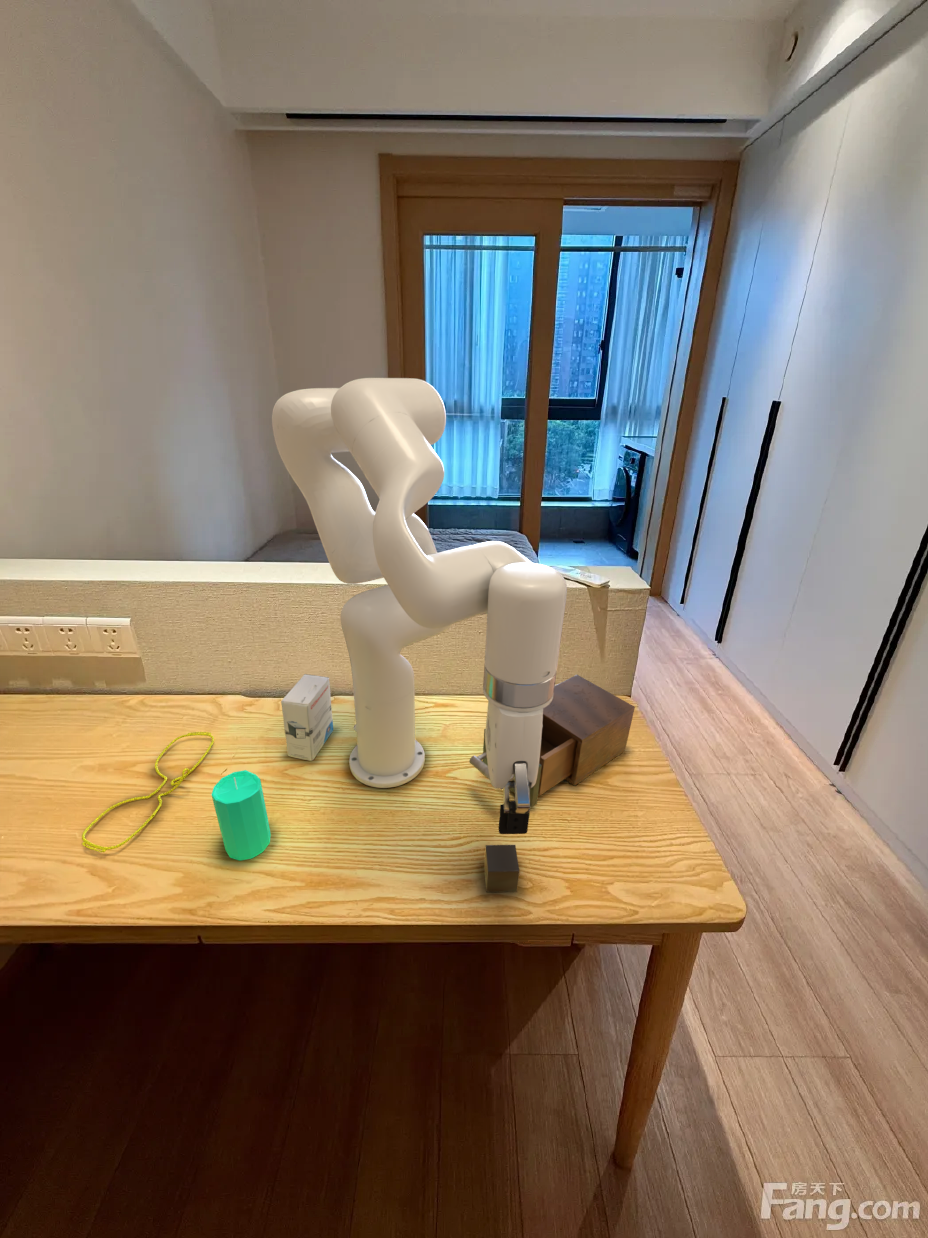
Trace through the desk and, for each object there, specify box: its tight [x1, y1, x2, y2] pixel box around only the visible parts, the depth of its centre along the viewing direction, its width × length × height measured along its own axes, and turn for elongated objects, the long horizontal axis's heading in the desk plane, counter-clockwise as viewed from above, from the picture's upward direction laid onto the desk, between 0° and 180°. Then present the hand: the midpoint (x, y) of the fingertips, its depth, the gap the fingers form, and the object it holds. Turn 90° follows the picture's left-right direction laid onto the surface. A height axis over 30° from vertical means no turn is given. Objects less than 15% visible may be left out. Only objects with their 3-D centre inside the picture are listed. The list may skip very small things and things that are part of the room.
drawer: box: [468, 718, 578, 809], centre depth 83 cm, size 18×11×8 cm, turn 129°
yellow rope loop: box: [81, 731, 215, 853], centre depth 79 cm, size 25×10×5 cm, turn 172°
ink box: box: [280, 673, 334, 762], centre depth 88 cm, size 9×5×12 cm, turn 168°
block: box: [483, 844, 520, 893], centre depth 68 cm, size 4×4×4 cm
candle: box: [211, 769, 272, 862], centre depth 70 cm, size 6×6×12 cm
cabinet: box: [543, 674, 636, 786], centre depth 90 cm, size 14×13×10 cm
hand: (507, 799), depth 62 cm, fingers open, 9 cm apart
